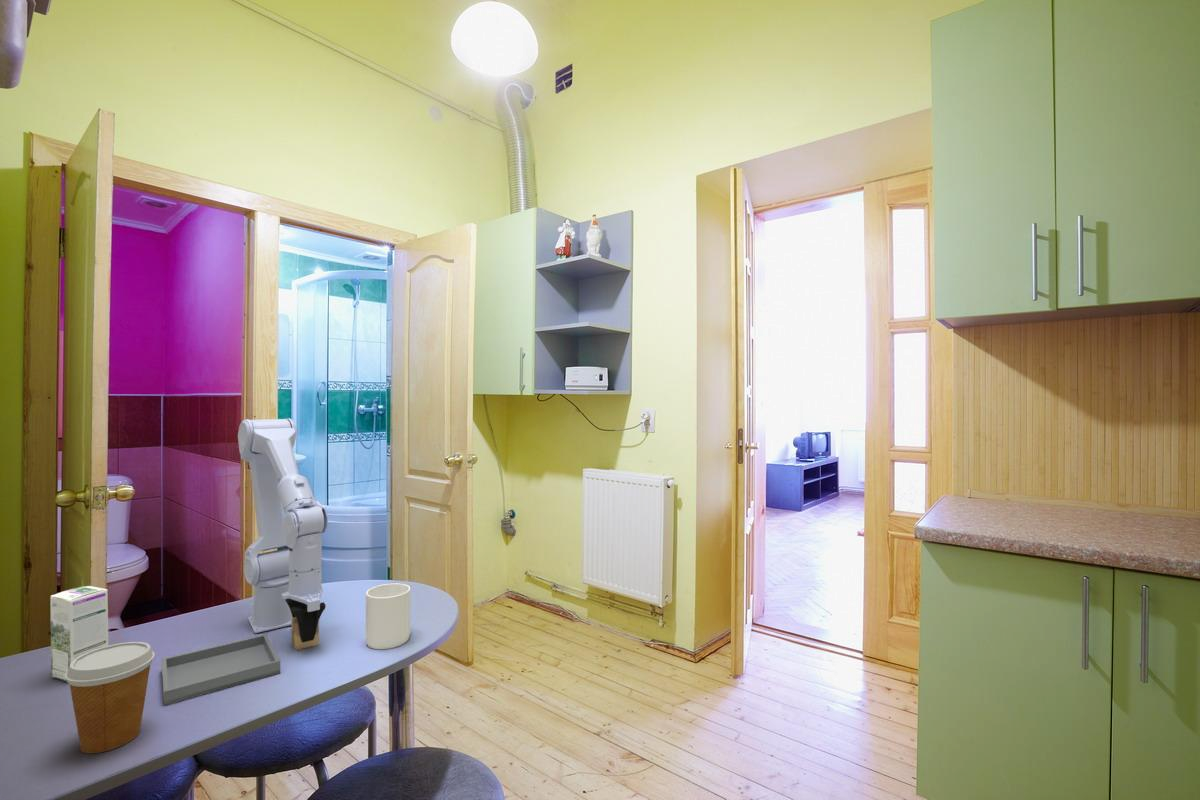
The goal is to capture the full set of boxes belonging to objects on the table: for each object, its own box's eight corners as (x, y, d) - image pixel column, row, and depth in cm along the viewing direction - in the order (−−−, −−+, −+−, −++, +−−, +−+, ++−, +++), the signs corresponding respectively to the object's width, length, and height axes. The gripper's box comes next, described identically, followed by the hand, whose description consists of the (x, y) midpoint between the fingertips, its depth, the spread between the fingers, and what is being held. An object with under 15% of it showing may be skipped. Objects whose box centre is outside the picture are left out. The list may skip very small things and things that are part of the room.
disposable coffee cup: (102, 721, 82) (103, 641, 82) (170, 718, 82) (170, 639, 82) (43, 763, 72) (43, 673, 72) (120, 760, 73) (120, 670, 73)
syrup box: (110, 668, 97) (110, 587, 97) (69, 684, 92) (69, 598, 92) (90, 663, 99) (90, 583, 99) (48, 678, 94) (48, 594, 94)
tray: (161, 671, 96) (161, 658, 96) (266, 645, 107) (266, 634, 107) (164, 705, 86) (164, 691, 86) (280, 673, 96) (280, 660, 96)
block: (291, 643, 108) (291, 617, 108) (313, 637, 110) (313, 612, 110) (295, 650, 105) (295, 624, 105) (318, 644, 107) (318, 619, 107)
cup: (375, 654, 103) (376, 601, 103) (351, 634, 112) (352, 585, 112) (417, 640, 109) (417, 590, 109) (391, 623, 118) (391, 576, 118)
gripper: (275, 563, 110) (274, 629, 111) (290, 581, 99) (289, 656, 99) (313, 556, 115) (313, 620, 115) (331, 574, 104) (331, 645, 104)
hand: (305, 636), depth 108 cm, fingers closed on block, 4 cm apart
